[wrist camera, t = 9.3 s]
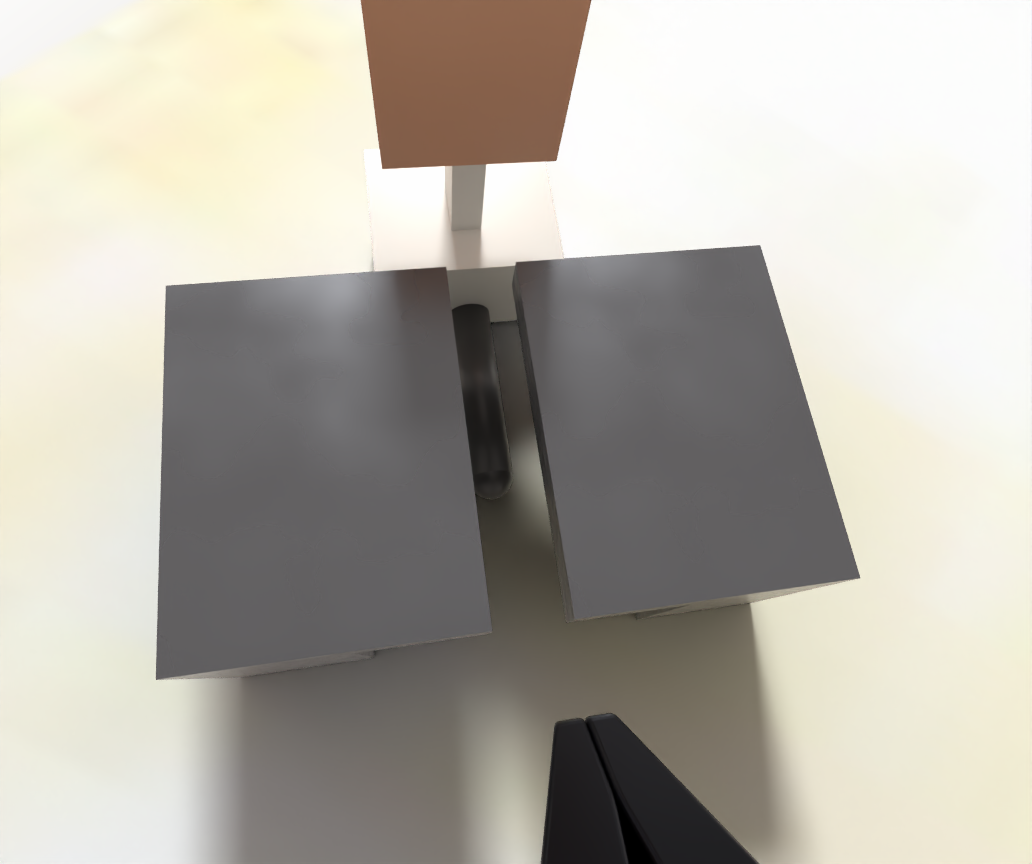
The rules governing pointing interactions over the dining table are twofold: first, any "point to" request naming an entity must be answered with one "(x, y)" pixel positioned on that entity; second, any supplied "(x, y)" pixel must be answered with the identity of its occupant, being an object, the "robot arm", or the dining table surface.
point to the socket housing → (447, 465)
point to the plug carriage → (470, 168)
